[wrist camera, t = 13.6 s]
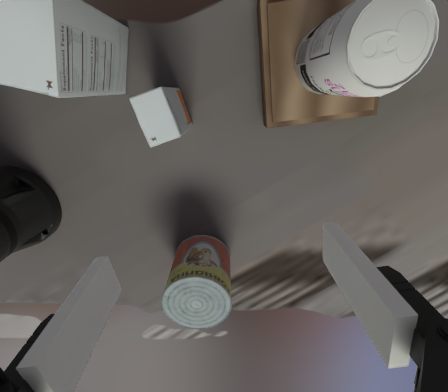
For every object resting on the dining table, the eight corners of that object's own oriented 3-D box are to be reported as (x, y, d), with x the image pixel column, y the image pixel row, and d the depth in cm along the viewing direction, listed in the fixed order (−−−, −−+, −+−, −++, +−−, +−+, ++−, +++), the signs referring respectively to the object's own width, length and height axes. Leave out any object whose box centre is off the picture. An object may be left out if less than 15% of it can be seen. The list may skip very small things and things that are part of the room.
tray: (264, 125, 41) (267, 128, 37) (256, 6, 35) (260, -4, 31) (364, 112, 40) (378, 114, 36) (376, -12, 34) (394, -25, 30)
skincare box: (193, 124, 41) (181, 138, 30) (169, 132, 42) (149, 149, 31) (179, 86, 39) (161, 85, 28) (154, 95, 39) (126, 98, 28)
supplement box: (130, 27, 36) (57, -20, 20) (127, 95, 39) (62, 100, 24) (61, 10, 35) (-69, -51, 20) (64, 82, 39) (-44, 77, 23)
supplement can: (354, 16, 32) (452, -39, 18) (356, 85, 35) (441, 84, 21) (289, 34, 32) (336, -6, 19) (297, 100, 36) (342, 108, 22)
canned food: (233, 237, 49) (235, 280, 38) (227, 282, 54) (227, 331, 43) (175, 232, 49) (161, 274, 38) (174, 277, 54) (161, 326, 43)
